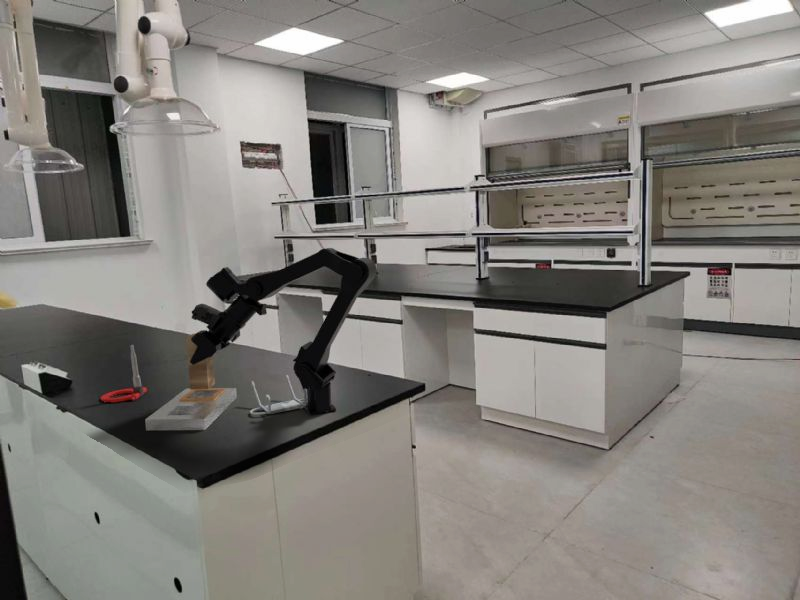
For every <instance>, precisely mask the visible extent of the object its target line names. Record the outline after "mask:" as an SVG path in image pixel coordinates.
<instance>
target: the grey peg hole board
mask: <svg viewBox="0 0 800 600" xmlns="http://www.w3.org/2000/svg"><path fill="white" fill-rule="evenodd" d="M237 393H238V392H237V387H235V388H234V387H220V388H219V387H217V388H216V387H215V388H213V387H211V388H209V389H196V390H190V388H185V389H183V391H181V392H180V393H178V394H177V395H176V396H174V397H173V398H172V399H170V400H169V401H168V402H167V403H165V404H164V405H162V406H161V407H160V408H158V409H157V410H156V411H154V412H153V413H152V414H151V415H149V416H148V417H146V418H145V419H144V420H145V431H206V430H207V429H208V427H209V426H210V425H212V423H214V422H215V420H217V418H218V417H219V416H220V415H221V414H222V413H224V411H225V410H227V408H228V407H229V406H230V405H231V404H232V403H233V402H234V401H235V400H236V399H237V397H238V396H237Z"/></svg>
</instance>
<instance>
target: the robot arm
mask: <svg viewBox="0 0 800 600" xmlns="http://www.w3.org/2000/svg"><path fill="white" fill-rule="evenodd" d="M324 268H328V269H329V270H330V271H332V272H334V273H335V274H337V275H339V276H341V279H340V285H339V292H338V293H337V296H336V297H335V299H334V301H333V303H332V305H331V307H330V308H329V311H328V313H326V316H325V317H324V319H323V322H322V324H321V326H320V328H319V330H318V331H317V333H316V335H315V337H314V339H313V341H311V340H310V341H309V342H307V343H305V344H303V345H301V346H300V347H299V349H298V353H297V355H296V357H295V358H294V359H293V360H292V361H293V362H294V364H293V371H294V374H295V376H296V377H297V379H298V380H299V383H300V385H301V387H302V388H303V389H305V390H306V399H307V404H308V405H307V406H304V407H303V408H304V409H305V411H306V412H307V413H308V414H309V415H310V416H311V415H318V414H322V413H321V412H324V413H327V412H326V411H331V412H333V411H332V410H336V411H337V407H335V405H334V404H333V403H332V386H331V385H332V384H331V382H332V381H334V379H335V378H336V373H337V372H336V370H335V369H334V367H333V368H332V366H331V365H330V364H329V363H328V361H329V358H330V352H331V347H332V345H333V343H334V342H335V340H336V337H337V335H338V334H339V332H340V330H341V328H342V326H343V324H344V323H345V321H346V319H347V317H348V315H349V313H350V311H351V310H352V308H353V306H354V304H355V302H356V300H357V298H358V297H359V296H360V295H361V294H362V293H363V291H365V290H366V289H367V288H368V287H369V285H370V284H371V282H372V281H373V280H374V279H375V278H376V275H377V273H378V269H377V266H376V264H375V262H374V261H373V260H372V259H371V258H369V257H357V256H354V255H351V254H348V253H344V252H341V251H339V250H336V249H335V248H333V247H328V248H327V247H325V248H323V249H320V250H319V251H318V252H316V253H313V254H311V255H309V256H307V257H305V258H302V259H299V260H298V261H296V262H294V263H292V264H290V265H288V266H285V267H283V268H281V269H279V270H276V271H272V272H267V273H263V274H260V275H255V276H252V277H249V278H248V279H247V280H243V281H241V280H240V278H238V277H237V276H236V275H235V273H233V270H232V269H230V268H229V267H228V266H226V267H222V269H220V271H218V272H216V273H215V274H214V275H213V276H210V277H209V278H208V280H207V281H206V284H205V285H206V287H207V288H208V289H209V290H210V291H211V293H213V294H214V295H215V296H216V297H217V298H218V299H219V300H220V301H221V302H222V303H226V302H228V303H231V304H229V306H227V308H226V309H224V311H221V310H219V309H216V308H215V307H212V306H210V305H208V304H205V303H199V304H196V305H195V307H194V308H193V310H192V311H191V315H192V316H191V319H192V320H195V321H199V322H201V323H204V324H206V328H207V329H202V330H199V331H197V332H196V334H195V335H194V336H193V337H192V338H191V341H192V342H193V343H194V344H195V345H196V346H197V348H196V350H195V352H194V354H193V356H192V358H191V360H190V363H191V364H192V365H194V364H196V363H198V362H200V361H202V360H204V359H207V358H209V357H212V356H213V357H214V356H215V355H217V354H218V353H219V351H221V350H223V349H225V348H227V347H228V346H230V342H231V343H234V342H236V341H237V339H239V337H240V336H241V330H242V329H243V328H245V326H246V324H247V323H248V321H250V320H251V318H253V317H254V315H255V314H256V313H257V315H258V316H265V315H267V314H268V313H267V303H261V302H260V301H262V300H265V299H269V298H272V297H274V296H275V295H276V294H278V293H279V292H281V291H282V290H283V289H284V288H286V287H287V286H288V285H289V284H291V283H294V282H296V281H298V280H300V279H302V278H304V277H305V278H306V277H307V276H309V275H311V274H313V273H315V272H318V271H320V270H322V269H324ZM302 388H301V389H302ZM317 413H318V414H317Z"/></svg>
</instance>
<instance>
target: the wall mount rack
mask: <svg viewBox="0 0 800 600" xmlns="http://www.w3.org/2000/svg"><path fill="white" fill-rule="evenodd" d="M284 376H285V377H284V378H285V380H286V382H287V385H288V388H289V390H290V393H291V396H292V398H293V399H292V400H287V401H281V402H276V403H272V404H271V396H270V395H269V394H266V395H265V398H266V400H267V402H268V403H267V405H263V404H262V403H261V400H260V397H259V395H258V391H257V389H256V385H255V381H252V380H251V382H250V386H251V388H252V390H253V393H254V395H255V398H256V401H257V404H258V406H259V407H256V408H252V409H251V410H249V414H250V415H253V416H261V415H273V414H278V413H281V412H288V411H292V410H297V409H302V407H303V408H304V406H307V405H308V404H307V389H303V388H301V389H300V392H302V393H303V398H300V399H299V398H297V397H296V395H295V392H294V389H293V387H292V383H291V381H290V377H289V375H287V374H286V375H284ZM259 410H264V411H263V412H262V411H261V412H256V411H259Z"/></svg>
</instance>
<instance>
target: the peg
mask: <svg viewBox="0 0 800 600" xmlns="http://www.w3.org/2000/svg"><path fill="white" fill-rule="evenodd" d="M196 333H197V332H196ZM196 333H191V334H190V335H188V336H186V337H185V339H186V340H185V341H186V350H187V352H186V353H187V363H188V364H187V366H188V375H189V378H188V379H189V389H190V390H196V389H209V388H213V386H214V385H215V384H216V381H215V371H214V370H215V369H214V366H215V365H214V358H213V357H214V356H212V357H209V358H207V359H204V360H202V361H200V362H198V363H196V364H194V365H192V364H191V363H190V360H191V358H192V356H193V354H194V352H195V350H196V348H197V346H196V345H195V344H194V343H193V342H192V341H191V338H192V337H193V336H194V335H195V334H196Z"/></svg>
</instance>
